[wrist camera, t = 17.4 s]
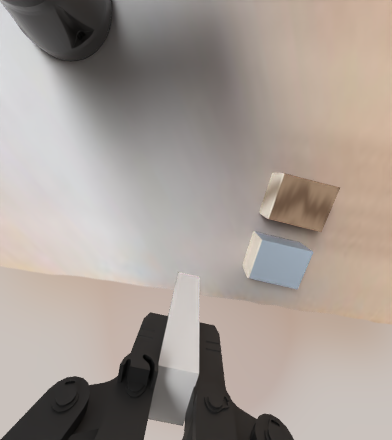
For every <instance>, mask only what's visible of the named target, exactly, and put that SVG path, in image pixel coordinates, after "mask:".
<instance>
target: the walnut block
mask: <svg viewBox="0 0 392 440" xmlns="http://www.w3.org/2000/svg"><path fill="white" fill-rule="evenodd" d="M339 189H340V188H339V187H335V186H331V185H327V184H323V183H320V182H316V181H312V180H308V179H304V178H300V177H296V176H292V175H288V174H284V173H272V175H271V178H270V181H269V184H268V187H267V190H266V193H265V196H264V199H263V202H262V205H261V208H260V211H259V213H260V214H261V215H263V216H264V217H265V218H267V219H270V220H274V221H278V222H282V223H286V224H291V225H295V226H299V227H303V228H307V229H311V230H315V231H319V232H321V231H322V229H323V227H324V224H325V222H326V220H327V217H328V215H329V213H330V210H331V208H332V205H333V203H334V201H335V198H336V196H337V194H338V191H339Z"/></svg>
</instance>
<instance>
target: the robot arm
mask: <svg viewBox="0 0 392 440" xmlns="http://www.w3.org/2000/svg"><path fill="white" fill-rule="evenodd" d="M0 1H1V3H2V4H3V5H4V7H5V8H6V9H7V11H8V12H9V13H10V15H11V16H12V17H13V19H14V20H15V21H16V23H17V25H18V26H19V27H20V29H21V30H22V31H23V33H24V34H25V35H26V36H27V37H28V38H29V39H30V40H31V41H32V42H33V43H35V44H36V45H37V46H39V47H40V48H41V49H43V50H44V51H45V52H47V53H48V54H50V55H51V56H53V57H56V58H58V59H62V60H67V61H76V60H81V59H84V58H86V57H88V56H90V55H92V54H93V53H94V52H96V51H97V50H98V49H99V47H100V46H101V45H102V43H103V42H104V40H105V38H106V36H107V34H108V31H109V28H110V23H111V14H112V7H111V0H0ZM199 298H200V277H199V276H194V275H190V274H185V273H181V272H178V276H177V280H176V284H175V289H174V293H173V297H172V302H171V306H170V310H169V315H168V316H164V315H160V314H155V313H149V314H148V315H147V316H146V317H145V318H144V320H143V322H142V325H141V328H140V330H139V333H138V336H137V338H136V341H135V343H134V346H133V348H132V351H131V353H130V354H129V355H127V356H126V357H125V358H124V359H123V361H122V363H121V364H120V369H119V374H118V376H117V377H116V378H114V379H113V380H111V381H108V382H105V383H100V384H94V385H88V382H87V381H86V380H84V379H83V378H80V377H76V376H74V377H67V378H65V379H63V380H61V381H59V382H57V383H56V384H55V385H53V386H52V387H51V388H50V389H49V390H48V391H47V392H46V393H45V394H44V395H43V396H42V397H41V398H40V399H39V400H38V401H37V402H36V403H35V404H34V405H33V406H32V407H31V409H30V410H29V411H28V412H27V413H26V414H25V415H24V416H23V417H22V418H21V419H20V420H19V421H18V422H17V423H16V424H15V425H14V426H13V427H12V428H11V429H10V430H9V432H7V434H6V435H5V436H4V437H3V438H2V439H1V440H144V435H145V430H146V425H147V421H148V419H151V420H156V421H161V422H167V423H171V424H176V425H182V426H183V423H184V420H185V429H184V431H185V432H184V436H183V439H182V440H294V439H293V437H292V435H291V434H290V432H289V431H288V429H287V427H286V426H285V425H284V424H283V423H282V422H281V421H280V420H279V419H278V418H276V417H274V416H273V415H269V414H262V415H260V416H259V417H258V419H256V418H254V417H252V416H250V415H249V414H247V413H246V412H244V411H243V410H241V409H240V408H238V407H237V406H236V405H235V404H234V403H233V402H232V400H231V398H230V396H229V394H228V393H227V391H226V387H225V381H224V372H223V363H222V355H221V346H220V337H219V333H218V331H217V329H216V327H215V326H214V325H209V324H205V323H200V322H199V315H200V314H199V313H200V308H199V307H200V299H199Z"/></svg>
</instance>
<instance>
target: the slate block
mask: <svg viewBox="0 0 392 440" xmlns="http://www.w3.org/2000/svg"><path fill="white" fill-rule="evenodd" d="M312 254H313V251H311V250H310V249H309V248H307V247H306V246H304V245H303V244H302V243H300V242H297V241H292V240H288V239H284V238H280V237H276V236H272V235H267V234H263V233H259V232H255V231H253V234H252V237H251V240H250V243H249V246H248V249H247V252H246V255H245V258H244V261H243V264H242V267H243V269H244V271H245V274H246V276H247V278H250V279H254V280H258V281H263V282H267V283H271V284H276V285H280V286H285V287H289V288H293V289H298V287H299V285H300V283H301V280H302V278H303V275H304V273H305V271H306V268H307V266H308V264H309V261H310V259H311V256H312Z"/></svg>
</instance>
